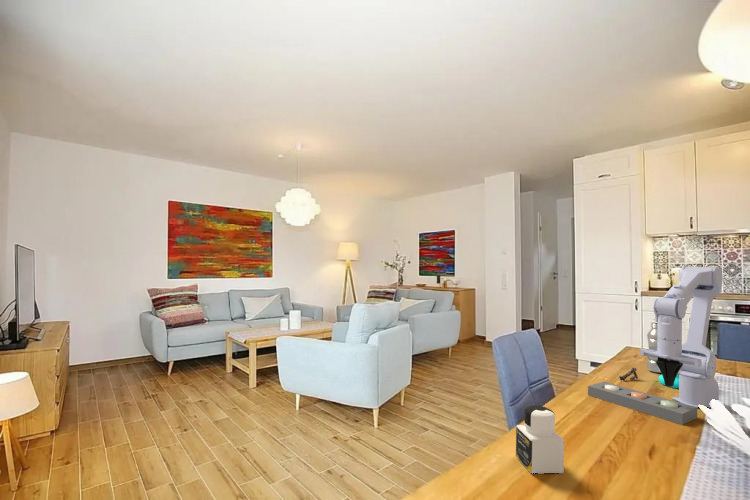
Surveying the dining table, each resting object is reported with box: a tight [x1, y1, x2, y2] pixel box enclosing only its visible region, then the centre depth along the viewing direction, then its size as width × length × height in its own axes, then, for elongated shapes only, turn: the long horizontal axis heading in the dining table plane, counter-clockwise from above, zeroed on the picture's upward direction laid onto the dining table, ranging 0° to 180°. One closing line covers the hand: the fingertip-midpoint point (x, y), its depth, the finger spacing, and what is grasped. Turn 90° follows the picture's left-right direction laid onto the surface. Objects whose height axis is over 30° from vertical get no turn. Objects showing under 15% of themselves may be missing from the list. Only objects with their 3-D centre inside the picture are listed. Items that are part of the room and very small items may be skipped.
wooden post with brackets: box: [618, 367, 639, 382], centre depth 145 cm, size 2×8×4 cm, turn 108°
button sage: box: [661, 400, 678, 409], centre depth 112 cm, size 4×4×3 cm
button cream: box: [605, 385, 619, 392], centre depth 125 cm, size 4×4×3 cm
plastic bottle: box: [646, 322, 662, 374], centre depth 157 cm, size 6×7×20 cm
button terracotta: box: [631, 392, 647, 400], centre depth 118 cm, size 4×4×3 cm
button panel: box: [587, 381, 699, 426], centre depth 118 cm, size 26×10×3 cm, turn 31°
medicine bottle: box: [515, 405, 565, 475], centre depth 82 cm, size 7×7×12 cm
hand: (669, 385), depth 112 cm, fingers closed
